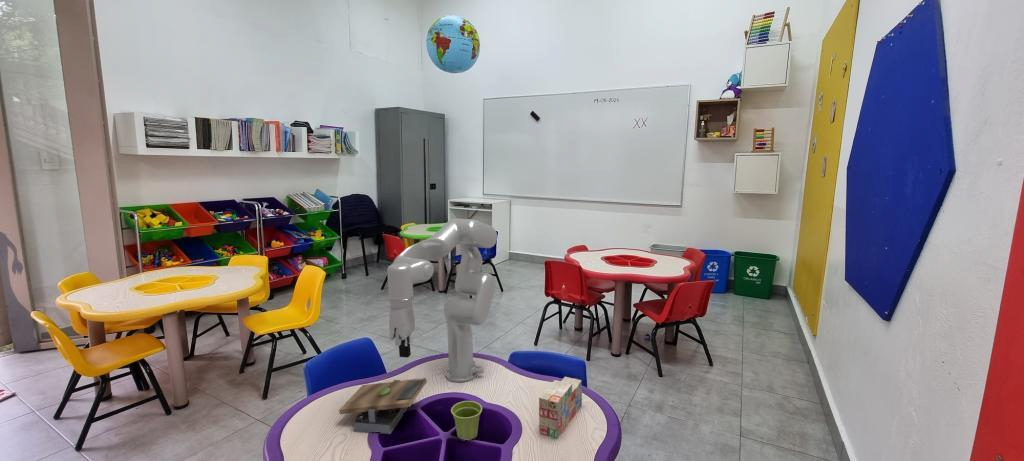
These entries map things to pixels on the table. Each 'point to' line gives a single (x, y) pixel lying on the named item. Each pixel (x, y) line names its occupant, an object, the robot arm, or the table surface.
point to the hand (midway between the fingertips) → (405, 356)
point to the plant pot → (466, 418)
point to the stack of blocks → (559, 406)
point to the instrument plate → (384, 396)
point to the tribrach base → (378, 420)
